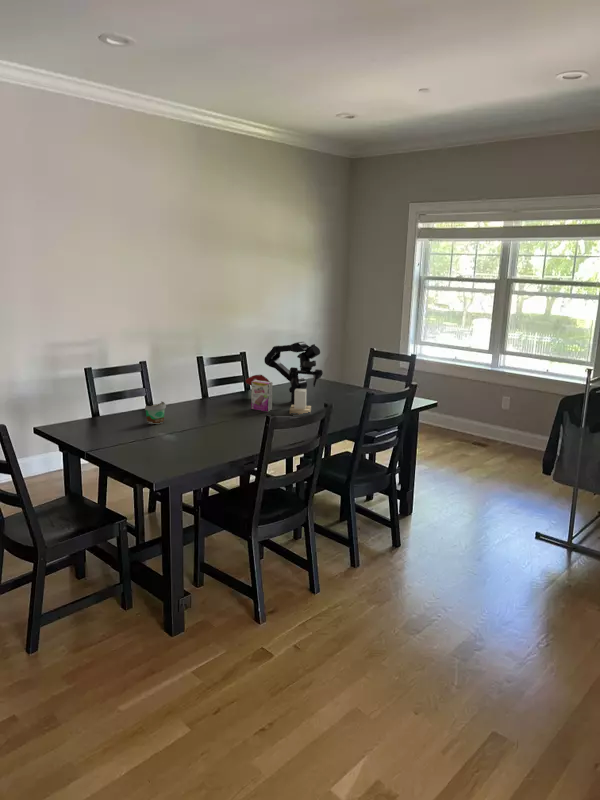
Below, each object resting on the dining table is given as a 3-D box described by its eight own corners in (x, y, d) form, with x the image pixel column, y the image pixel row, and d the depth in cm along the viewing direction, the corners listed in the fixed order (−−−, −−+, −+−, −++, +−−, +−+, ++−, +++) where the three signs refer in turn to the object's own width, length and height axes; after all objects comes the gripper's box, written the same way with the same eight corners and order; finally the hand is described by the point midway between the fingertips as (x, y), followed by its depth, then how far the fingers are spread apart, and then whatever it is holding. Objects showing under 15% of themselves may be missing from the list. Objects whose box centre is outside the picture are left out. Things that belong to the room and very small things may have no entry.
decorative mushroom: (259, 394, 383) (259, 370, 379) (277, 399, 372) (277, 375, 369) (239, 398, 372) (239, 374, 368) (257, 403, 361) (257, 378, 358)
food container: (154, 427, 310) (153, 407, 307) (145, 425, 313) (144, 405, 311) (171, 421, 320) (171, 402, 318) (162, 419, 323) (162, 401, 321)
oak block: (291, 409, 353) (291, 404, 352) (310, 410, 352) (311, 405, 351) (289, 414, 342) (289, 409, 341) (309, 415, 341) (309, 410, 340)
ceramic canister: (294, 408, 343) (294, 391, 341) (295, 405, 349) (295, 388, 347) (305, 409, 343) (305, 391, 340) (306, 406, 348) (306, 389, 346)
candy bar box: (250, 409, 348) (250, 381, 344) (254, 407, 352) (255, 379, 348) (268, 412, 343) (268, 383, 339) (272, 410, 348) (272, 381, 344)
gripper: (292, 353, 348) (293, 377, 341) (324, 356, 352) (326, 380, 345) (287, 363, 357) (289, 387, 350) (319, 365, 362) (320, 389, 355)
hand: (306, 385), depth 350 cm, fingers open, 9 cm apart
